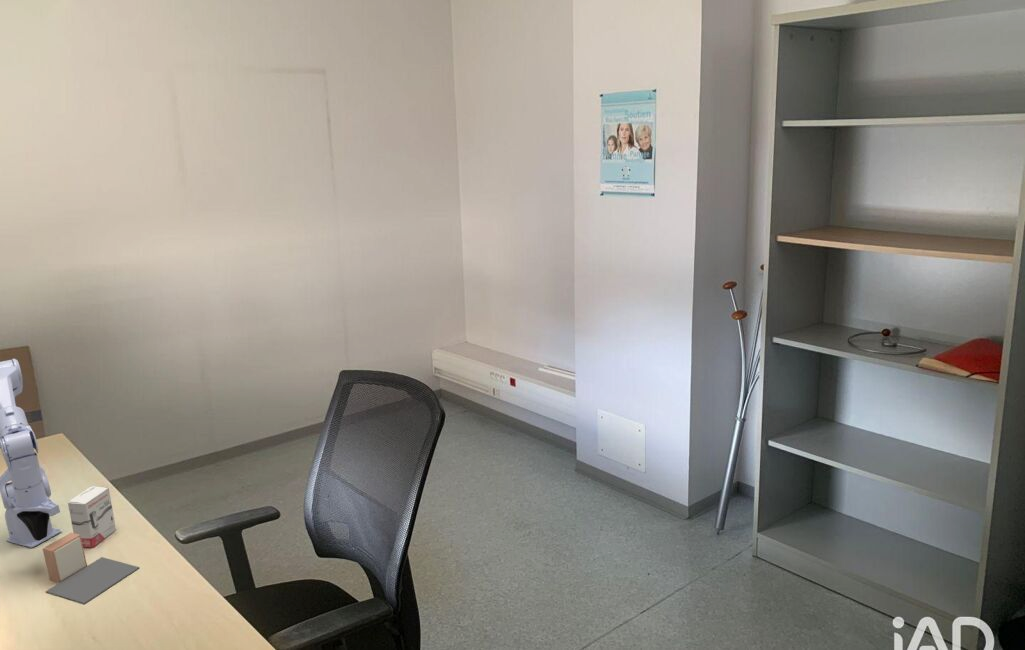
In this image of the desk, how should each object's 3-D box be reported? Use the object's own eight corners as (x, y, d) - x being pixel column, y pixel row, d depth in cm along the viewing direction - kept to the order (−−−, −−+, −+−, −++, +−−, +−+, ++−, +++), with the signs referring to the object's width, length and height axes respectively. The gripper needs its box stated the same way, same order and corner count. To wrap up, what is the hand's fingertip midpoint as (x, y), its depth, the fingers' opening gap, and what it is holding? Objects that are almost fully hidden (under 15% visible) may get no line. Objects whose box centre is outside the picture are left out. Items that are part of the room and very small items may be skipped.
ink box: (93, 548, 186) (84, 503, 182) (75, 547, 187) (65, 502, 183) (118, 529, 194) (109, 485, 191) (100, 528, 195) (91, 484, 192)
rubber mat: (45, 592, 169) (45, 591, 169) (102, 558, 181) (101, 557, 181) (84, 604, 164) (84, 603, 164) (139, 568, 177) (139, 567, 176)
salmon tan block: (50, 580, 174) (42, 548, 171) (78, 563, 180) (71, 532, 178) (59, 583, 172) (52, 551, 170) (87, 566, 178) (80, 535, 176)
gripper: (-12, 486, 173) (2, 541, 176) (32, 496, 167) (46, 553, 170) (19, 472, 179) (32, 525, 182) (62, 482, 173) (75, 536, 177)
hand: (41, 538), depth 177 cm, fingers closed
